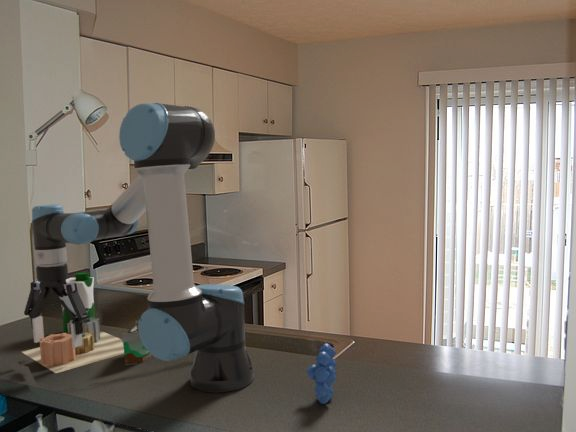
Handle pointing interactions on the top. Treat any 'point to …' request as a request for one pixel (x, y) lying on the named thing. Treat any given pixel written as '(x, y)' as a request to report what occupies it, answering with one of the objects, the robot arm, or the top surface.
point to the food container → (134, 347)
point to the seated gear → (89, 327)
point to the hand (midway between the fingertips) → (58, 343)
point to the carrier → (85, 351)
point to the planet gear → (57, 349)
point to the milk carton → (81, 296)
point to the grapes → (324, 373)
